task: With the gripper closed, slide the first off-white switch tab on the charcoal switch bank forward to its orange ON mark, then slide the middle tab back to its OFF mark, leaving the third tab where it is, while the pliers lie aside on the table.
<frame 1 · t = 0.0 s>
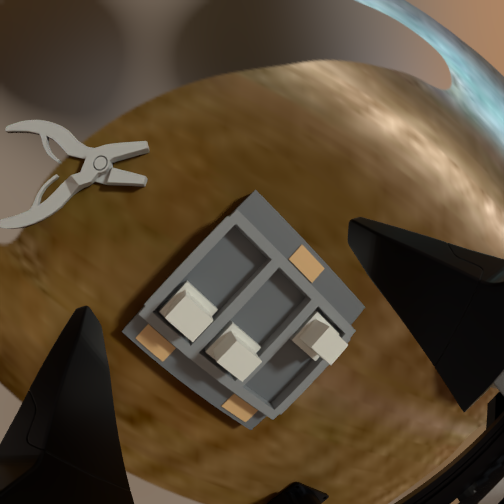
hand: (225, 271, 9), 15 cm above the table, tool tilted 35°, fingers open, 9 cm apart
tab b: (235, 353, 21), point 3 cm above the table, slide at 5.0 cm
tab a: (320, 339, 23), point 3 cm above the table, slide at 0.0 cm
switch bank: (249, 318, 25), on the table
tab c: (188, 313, 21), point 3 cm above the table, slide at 5.0 cm
pliers: (67, 170, 22), on the table
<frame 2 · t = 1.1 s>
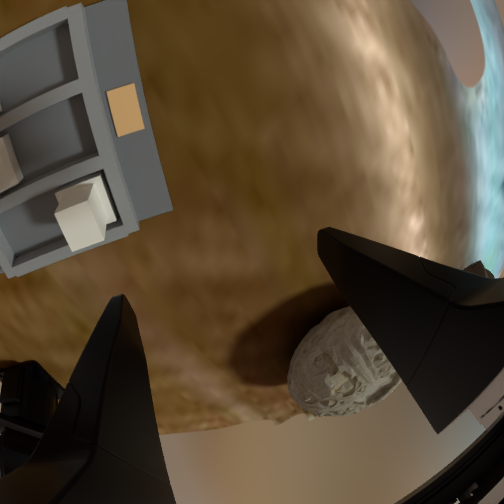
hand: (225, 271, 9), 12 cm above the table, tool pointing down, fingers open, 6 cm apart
tab a: (83, 212, 15), point 3 cm above the table, slide at 0.0 cm
grey rounded stone: (336, 332, 37), on the table
switch bank: (36, 143, 14), on the table
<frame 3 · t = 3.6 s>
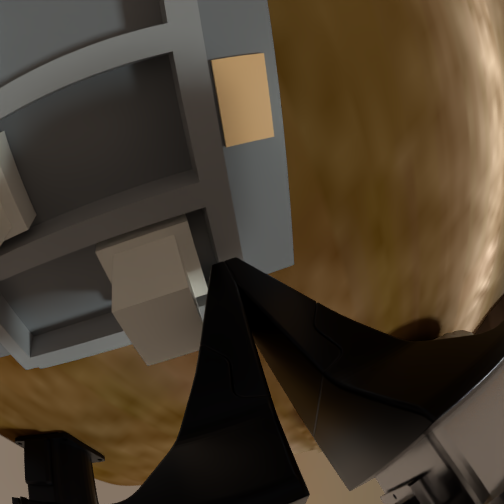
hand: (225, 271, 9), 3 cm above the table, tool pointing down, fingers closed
tab a: (157, 289, 9), point 3 cm above the table, slide at 0.3 cm, touching gripper
decorative dome: (493, 317, 44), on the table
switch bank: (56, 148, 8), on the table
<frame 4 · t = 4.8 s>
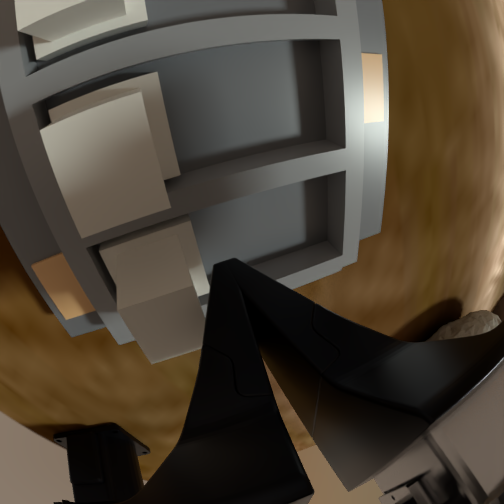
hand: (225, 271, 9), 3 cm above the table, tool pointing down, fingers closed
tab b: (112, 147, 6), point 3 cm above the table, slide at 5.0 cm
tab a: (161, 288, 9), point 3 cm above the table, slide at 5.1 cm, touching gripper
decorative dome: (502, 306, 45), on the table
grey rounded stone: (427, 345, 32), on the table
switch bank: (189, 106, 9), on the table
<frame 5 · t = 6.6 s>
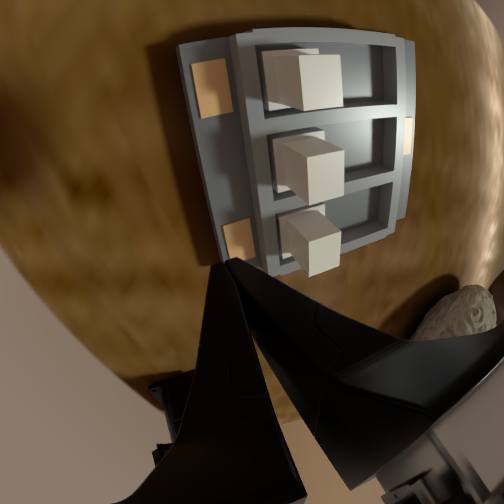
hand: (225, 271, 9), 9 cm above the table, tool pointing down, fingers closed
tab b: (308, 165, 15), point 3 cm above the table, slide at 5.0 cm
tab a: (309, 238, 18), point 3 cm above the table, slide at 5.1 cm
decorative dome: (495, 292, 54), on the table
grey rounded stone: (432, 315, 41), on the table
switch bank: (316, 141, 18), on the table
tab c: (302, 78, 12), point 3 cm above the table, slide at 5.0 cm
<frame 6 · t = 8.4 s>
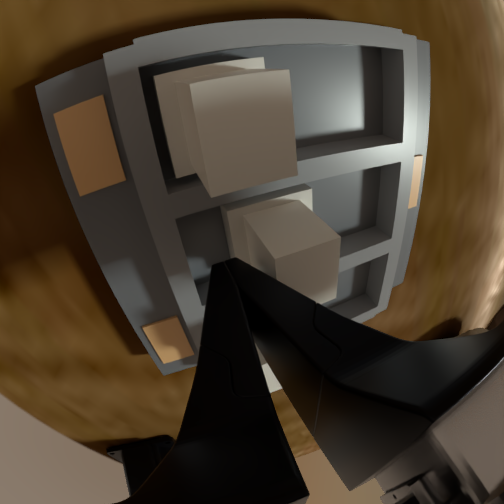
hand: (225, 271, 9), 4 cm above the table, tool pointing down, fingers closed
tab b: (284, 249, 10), point 3 cm above the table, slide at 3.7 cm, touching gripper
tab a: (260, 344, 12), point 3 cm above the table, slide at 5.1 cm
decorative dome: (499, 319, 49), on the table
switch bank: (277, 199, 13), on the table
tab c: (225, 119, 7), point 3 cm above the table, slide at 5.0 cm
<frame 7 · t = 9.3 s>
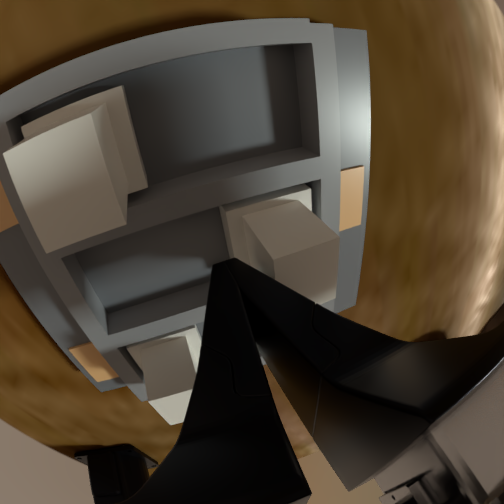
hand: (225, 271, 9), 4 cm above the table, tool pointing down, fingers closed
tab b: (283, 249, 10), point 3 cm above the table, slide at 0.0 cm, touching gripper
tab a: (175, 372, 12), point 3 cm above the table, slide at 5.1 cm
decorative dome: (492, 326, 48), on the table
switch bank: (190, 224, 12), on the table
tab c: (77, 163, 6), point 3 cm above the table, slide at 5.0 cm
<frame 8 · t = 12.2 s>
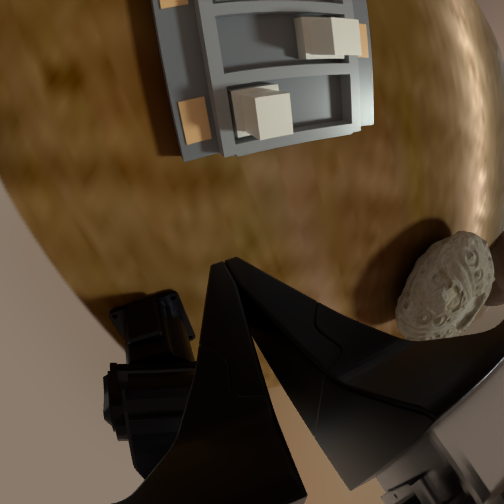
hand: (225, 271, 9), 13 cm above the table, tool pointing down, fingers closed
tab b: (330, 37, 15), point 3 cm above the table, slide at -0.1 cm
tab a: (262, 111, 16), point 3 cm above the table, slide at 5.1 cm
decorative dome: (493, 263, 53), on the table
grey rounded stone: (425, 270, 40), on the table
switch bank: (271, 40, 17), on the table
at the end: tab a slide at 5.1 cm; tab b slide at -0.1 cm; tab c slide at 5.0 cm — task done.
